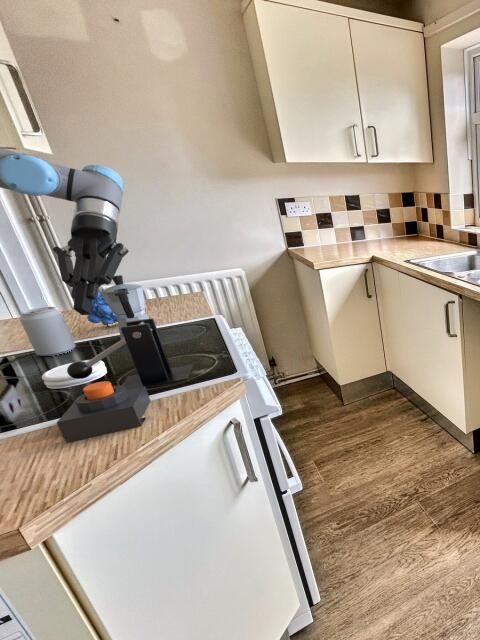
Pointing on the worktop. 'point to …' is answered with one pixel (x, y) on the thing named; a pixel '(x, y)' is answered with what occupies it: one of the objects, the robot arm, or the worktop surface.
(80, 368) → the lever
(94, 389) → the stop button
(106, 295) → the coffee maker
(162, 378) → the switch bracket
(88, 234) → the robot arm
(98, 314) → the grapes
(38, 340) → the can
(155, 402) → the worktop surface
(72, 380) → the white thick disc
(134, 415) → the control block
